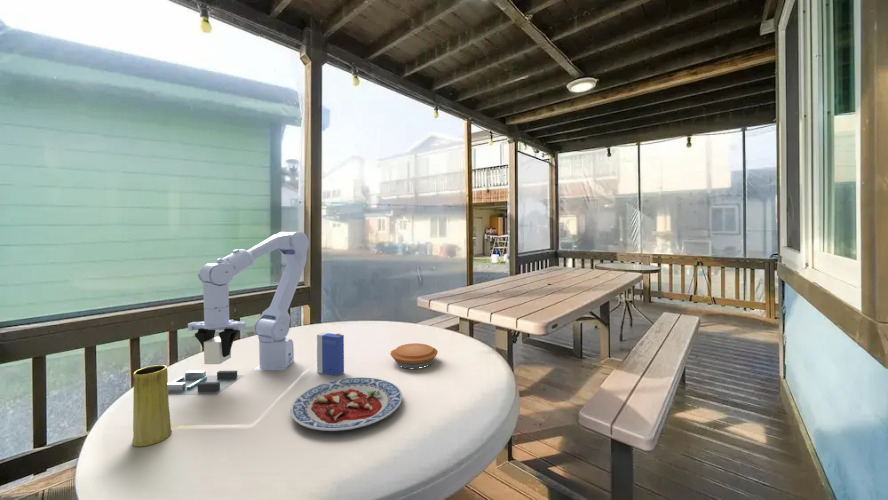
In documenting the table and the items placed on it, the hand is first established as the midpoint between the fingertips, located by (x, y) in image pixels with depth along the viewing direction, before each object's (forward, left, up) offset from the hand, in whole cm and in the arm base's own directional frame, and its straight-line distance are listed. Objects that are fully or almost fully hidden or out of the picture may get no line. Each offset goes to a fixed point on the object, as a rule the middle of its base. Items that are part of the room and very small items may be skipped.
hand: (217, 355), depth 93 cm
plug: (0, 0, -1) cm, 1 cm away
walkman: (-28, -9, -9) cm, 31 cm away
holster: (0, 0, -8) cm, 8 cm away
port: (+9, 0, -8) cm, 12 cm away
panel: (+5, 0, -9) cm, 10 cm away
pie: (-53, -17, -9) cm, 56 cm away
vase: (-2, +24, -9) cm, 26 cm away
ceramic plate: (-39, +12, -9) cm, 42 cm away
